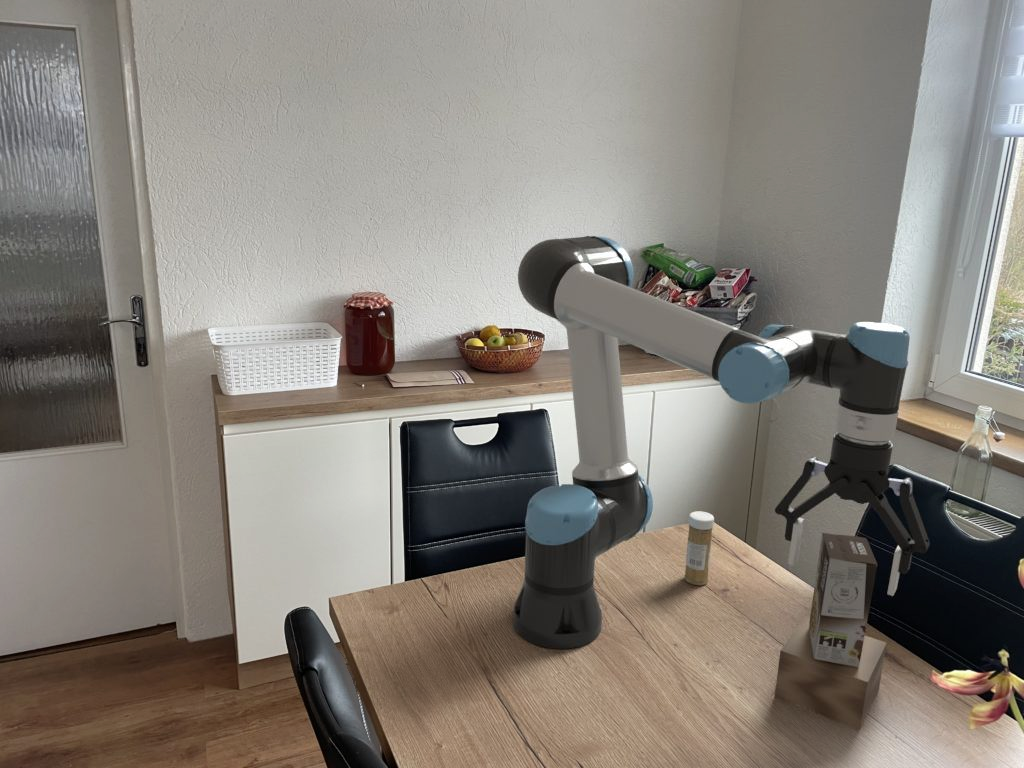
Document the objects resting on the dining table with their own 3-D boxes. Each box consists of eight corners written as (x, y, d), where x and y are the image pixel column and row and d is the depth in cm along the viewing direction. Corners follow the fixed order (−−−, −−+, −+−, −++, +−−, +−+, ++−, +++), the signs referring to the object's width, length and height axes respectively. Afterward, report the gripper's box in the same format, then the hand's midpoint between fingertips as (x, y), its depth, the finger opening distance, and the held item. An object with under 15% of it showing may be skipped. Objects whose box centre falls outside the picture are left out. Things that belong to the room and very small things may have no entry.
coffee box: (861, 668, 111) (878, 564, 107) (812, 660, 112) (828, 557, 108) (852, 634, 119) (868, 536, 115) (807, 626, 121) (821, 530, 117)
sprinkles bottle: (712, 580, 150) (719, 515, 146) (699, 589, 147) (705, 522, 143) (692, 572, 153) (698, 508, 150) (678, 579, 150) (684, 514, 146)
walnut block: (774, 697, 117) (780, 650, 115) (799, 659, 126) (805, 615, 124) (859, 731, 110) (867, 682, 108) (878, 689, 119) (886, 642, 117)
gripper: (764, 424, 111) (747, 559, 117) (963, 465, 98) (933, 616, 103) (780, 412, 117) (763, 541, 123) (970, 449, 104) (941, 593, 109)
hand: (840, 576), depth 113 cm, fingers open, 13 cm apart
